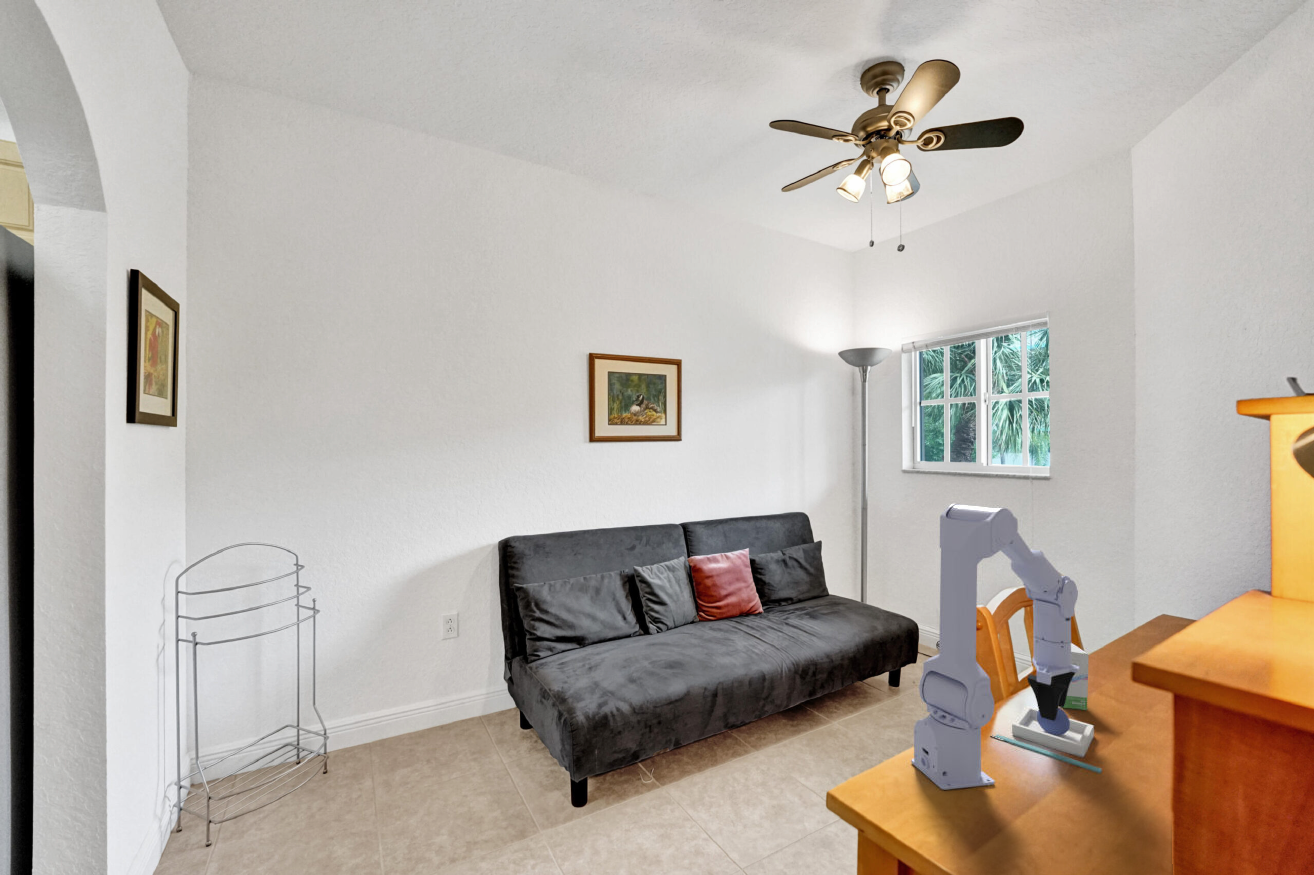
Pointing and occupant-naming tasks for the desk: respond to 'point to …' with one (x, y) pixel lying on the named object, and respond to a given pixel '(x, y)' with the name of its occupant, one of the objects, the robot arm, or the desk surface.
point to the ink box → (1078, 681)
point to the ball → (1055, 723)
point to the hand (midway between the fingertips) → (1052, 711)
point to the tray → (1069, 742)
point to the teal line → (1050, 754)
